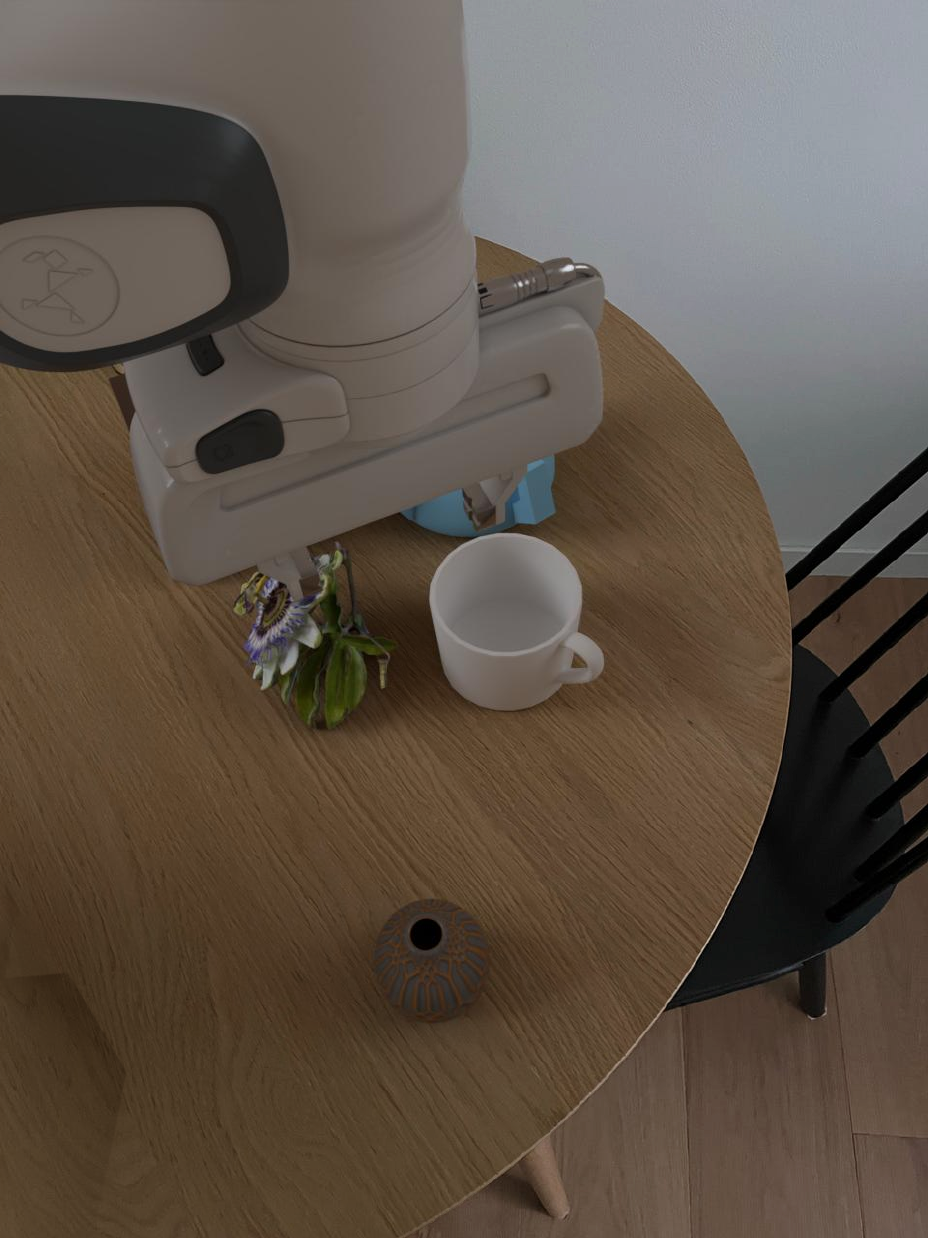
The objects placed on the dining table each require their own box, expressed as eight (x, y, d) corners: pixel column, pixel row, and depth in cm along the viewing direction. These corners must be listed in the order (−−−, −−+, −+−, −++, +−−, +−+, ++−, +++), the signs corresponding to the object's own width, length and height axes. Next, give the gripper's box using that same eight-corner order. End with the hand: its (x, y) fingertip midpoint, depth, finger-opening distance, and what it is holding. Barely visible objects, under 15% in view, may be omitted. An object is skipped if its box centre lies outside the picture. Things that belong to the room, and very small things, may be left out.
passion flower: (288, 687, 85) (242, 548, 80) (419, 662, 83) (379, 518, 79) (253, 758, 74) (198, 601, 70) (402, 730, 73) (355, 568, 68)
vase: (384, 921, 68) (369, 872, 61) (491, 923, 68) (488, 874, 61) (376, 1033, 64) (358, 996, 57) (489, 1036, 64) (486, 999, 57)
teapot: (363, 551, 85) (345, 460, 76) (389, 415, 93) (375, 318, 84) (554, 561, 84) (558, 469, 75) (563, 422, 92) (568, 325, 83)
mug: (407, 663, 79) (397, 602, 72) (496, 574, 83) (494, 508, 77) (550, 766, 74) (554, 710, 67) (637, 665, 78) (649, 603, 71)
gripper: (569, 201, 43) (557, 437, 55) (77, 358, 39) (176, 578, 51) (647, 291, 40) (617, 523, 52) (119, 473, 36) (214, 680, 47)
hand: (395, 551), depth 51 cm, fingers open, 8 cm apart
